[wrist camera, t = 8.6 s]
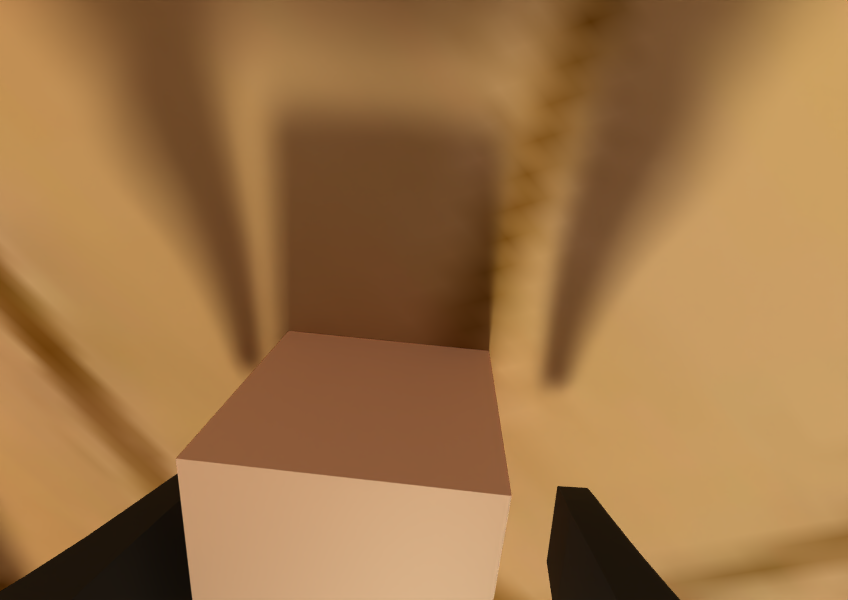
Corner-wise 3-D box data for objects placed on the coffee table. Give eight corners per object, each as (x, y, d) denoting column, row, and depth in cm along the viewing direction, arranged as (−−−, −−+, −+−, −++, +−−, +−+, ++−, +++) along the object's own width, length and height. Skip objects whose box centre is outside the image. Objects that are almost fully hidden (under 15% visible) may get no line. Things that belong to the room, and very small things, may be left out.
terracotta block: (488, 349, 11) (511, 496, 7) (466, 509, 13) (472, 717, 8) (289, 329, 12) (176, 458, 7) (292, 490, 13) (202, 682, 9)
